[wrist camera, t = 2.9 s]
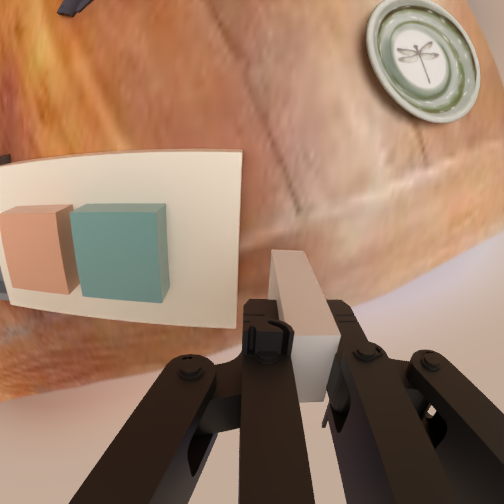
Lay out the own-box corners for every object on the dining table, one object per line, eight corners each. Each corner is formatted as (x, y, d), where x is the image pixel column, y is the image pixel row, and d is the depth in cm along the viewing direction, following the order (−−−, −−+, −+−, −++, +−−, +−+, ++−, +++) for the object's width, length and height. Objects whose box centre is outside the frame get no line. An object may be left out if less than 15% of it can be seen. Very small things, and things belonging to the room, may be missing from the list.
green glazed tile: (95, 281, 18) (82, 296, 16) (86, 203, 16) (69, 212, 14) (169, 286, 18) (162, 303, 16) (166, 203, 16) (156, 212, 14)
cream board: (35, 282, 22) (10, 304, 19) (17, 161, 19) (-14, 169, 15) (237, 297, 23) (236, 328, 19) (242, 149, 19) (242, 152, 15)
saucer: (401, 145, 19) (418, 147, 17) (327, 29, 16) (337, 17, 14) (480, 95, 17) (498, 94, 15) (419, -8, 14) (434, -18, 12)
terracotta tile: (27, 275, 18) (12, 287, 16) (15, 206, 16) (-3, 214, 14) (83, 280, 18) (69, 294, 16) (72, 204, 16) (55, 212, 14)
